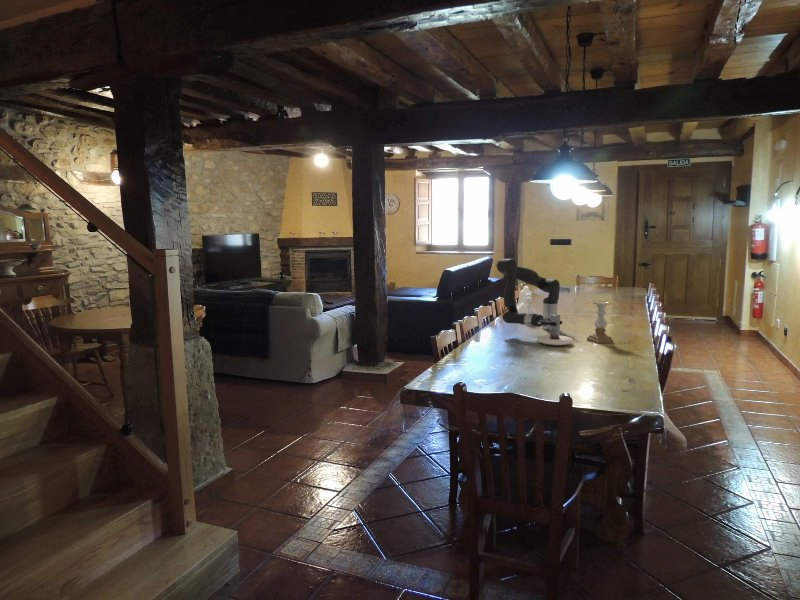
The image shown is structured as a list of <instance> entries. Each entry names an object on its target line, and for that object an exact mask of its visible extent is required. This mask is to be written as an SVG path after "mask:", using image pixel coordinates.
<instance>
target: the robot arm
mask: <svg viewBox="0 0 800 600" xmlns="http://www.w3.org/2000/svg"><path fill="white" fill-rule="evenodd" d="M496 268H497V270H498V272H499V273H501V274H503V275H507V281H506V285H505V288H504V289H503V290H504V291H503V306H504V307H505V308H506V309H507V311H505V312H504V313H503V314H502V316H501V317H502V321H503V322H505V323H507V324H520V325H525V326H530V327H537V328H541V327H542V329H543V330H548V331H550V326H557V323H556V322H550V315H552V314H557V315H558V302H559V298H560V292H561V291H560V289H561V286H560V281H559V280H558V279H554V278H546V277H542V276H540V275H539V274H538V273H537V271H535V270H534V269H531V268H528V267H524V266H519V265H517V261H516V260H515V259H514V258H503V259H499V260H498V261H497V263H496ZM517 280H519V281H520V282H523V283H525V284H528V285H529V286H533V287H536V288H538V289H539V290H541V291H542V292H543V293H548V296H547V297H544V298H543V300H542V302H543V303H542V314H539V313H536V314H532V313H518V311H517V304H516V282H517ZM561 325H563V321H562V320H560V326H561Z"/></svg>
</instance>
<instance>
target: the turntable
mask: <svg viewBox="0 0 800 600" xmlns="http://www.w3.org/2000/svg"><path fill="white" fill-rule="evenodd" d="M537 342H539V343H540V344H542V343H544V344H551V345H566V344H567V345H570V344H572V343H573V338H572V337H569V336H565V335H560V337H559V339H556V340H555V339H550V334H545V335H539V336H537ZM544 344H543V345H544ZM567 345H566V346H567Z"/></svg>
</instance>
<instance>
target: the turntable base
mask: <svg viewBox="0 0 800 600" xmlns="http://www.w3.org/2000/svg"><path fill="white" fill-rule="evenodd" d="M543 345H544V343H543ZM548 345H550V346H549V347H565V346H564V345H551V344H545V345H544V346H548ZM566 346H568V344H566Z"/></svg>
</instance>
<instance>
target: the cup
mask: <svg viewBox="0 0 800 600" xmlns="http://www.w3.org/2000/svg"><path fill="white" fill-rule="evenodd" d="M560 321H561V314H558V313H557V314H552V315H550V322H556V323H557V326H550V330H549V335H550V339H555V340H556V339H559V337H560V336H561V335H560V334H561V332H560V330H561V329H560V328H561V325H560Z"/></svg>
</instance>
